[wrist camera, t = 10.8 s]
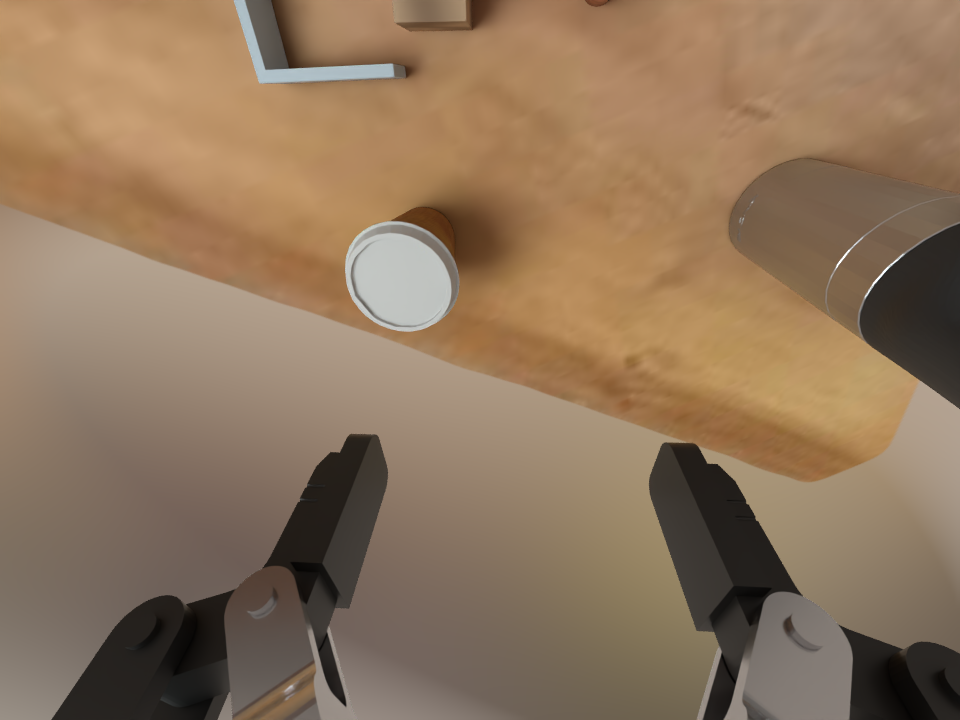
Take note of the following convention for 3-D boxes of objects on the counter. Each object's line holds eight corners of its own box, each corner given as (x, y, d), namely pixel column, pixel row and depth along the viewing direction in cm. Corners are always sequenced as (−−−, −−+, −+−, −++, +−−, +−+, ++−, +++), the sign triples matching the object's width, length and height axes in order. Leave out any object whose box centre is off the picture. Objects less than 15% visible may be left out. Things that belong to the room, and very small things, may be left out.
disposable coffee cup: (373, 190, 37) (325, 226, 27) (468, 189, 36) (453, 226, 27) (389, 279, 43) (354, 335, 33) (471, 279, 42) (460, 337, 32)
